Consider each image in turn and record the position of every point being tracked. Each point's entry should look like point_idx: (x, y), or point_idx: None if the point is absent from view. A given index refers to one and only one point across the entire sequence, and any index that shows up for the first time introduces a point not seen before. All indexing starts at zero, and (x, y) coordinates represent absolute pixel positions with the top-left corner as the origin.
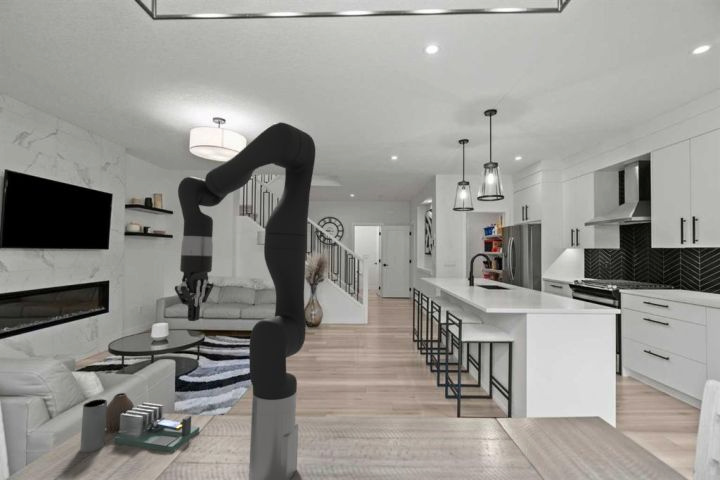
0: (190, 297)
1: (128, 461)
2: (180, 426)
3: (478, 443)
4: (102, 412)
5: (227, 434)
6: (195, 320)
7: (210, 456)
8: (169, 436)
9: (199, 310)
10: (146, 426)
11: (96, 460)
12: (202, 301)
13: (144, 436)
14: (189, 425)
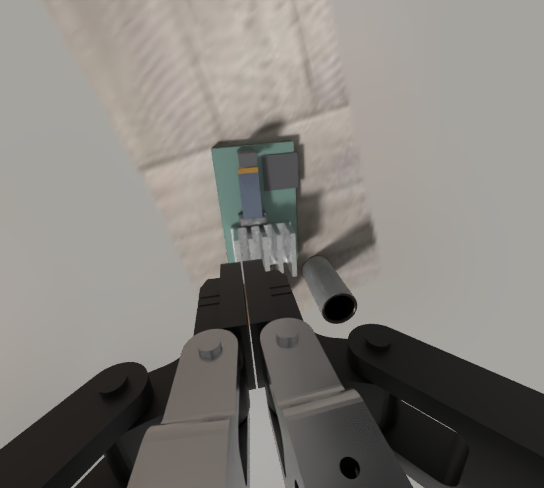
0: (454, 391)
1: (333, 186)
2: (251, 167)
3: None
4: (335, 285)
5: (194, 76)
6: (255, 260)
7: (281, 50)
8: (268, 174)
9: (200, 313)
10: (275, 226)
11: (342, 231)
12: (150, 382)
13: (280, 217)
14: (242, 151)
